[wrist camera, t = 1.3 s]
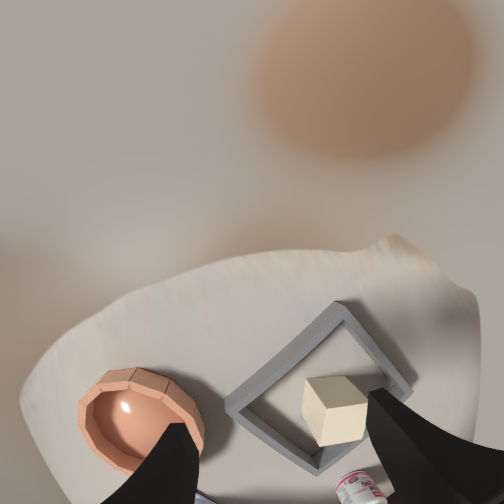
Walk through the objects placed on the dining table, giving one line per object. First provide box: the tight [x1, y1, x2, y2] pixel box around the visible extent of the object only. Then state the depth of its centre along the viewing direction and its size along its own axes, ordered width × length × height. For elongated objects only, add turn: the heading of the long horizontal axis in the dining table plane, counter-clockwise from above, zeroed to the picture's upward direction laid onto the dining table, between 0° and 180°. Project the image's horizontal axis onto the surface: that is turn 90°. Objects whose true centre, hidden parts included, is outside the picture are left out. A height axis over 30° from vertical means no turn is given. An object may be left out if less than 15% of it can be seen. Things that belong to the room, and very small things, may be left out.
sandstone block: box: [301, 376, 368, 447], centre depth 23 cm, size 4×4×6 cm
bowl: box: [78, 368, 205, 475], centre depth 22 cm, size 12×12×3 cm
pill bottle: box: [335, 471, 387, 504], centre depth 22 cm, size 5×5×8 cm
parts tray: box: [224, 301, 414, 477], centre depth 24 cm, size 14×14×2 cm
